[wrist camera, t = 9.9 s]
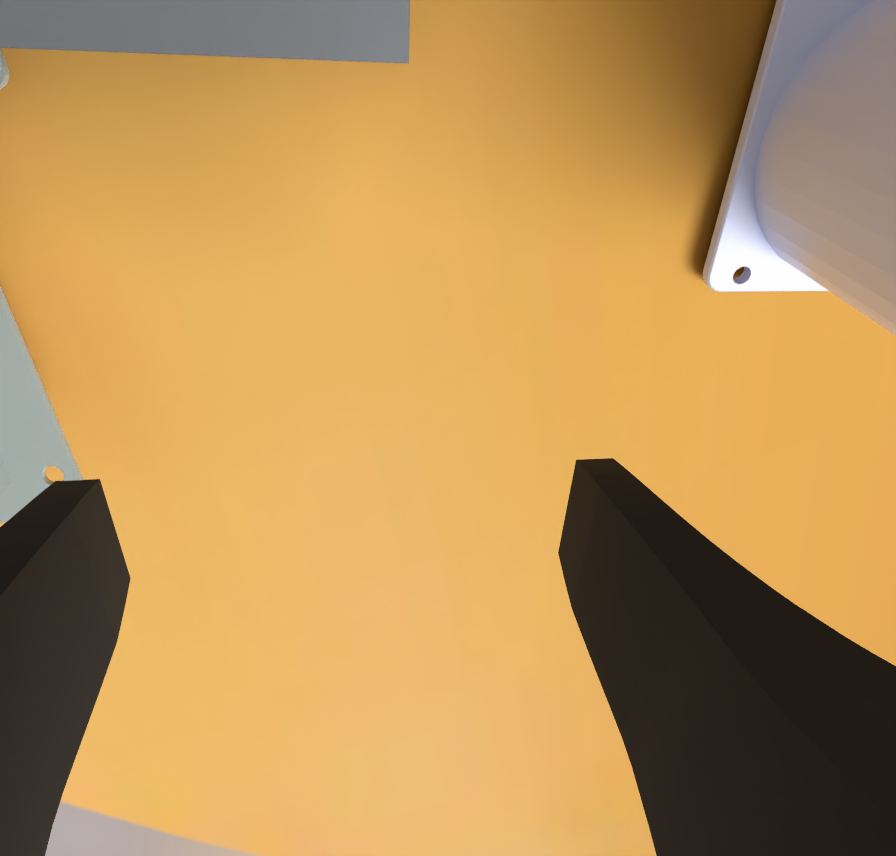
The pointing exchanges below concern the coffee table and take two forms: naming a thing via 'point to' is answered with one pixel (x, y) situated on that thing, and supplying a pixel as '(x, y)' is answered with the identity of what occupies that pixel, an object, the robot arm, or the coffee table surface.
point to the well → (214, 27)
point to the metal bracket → (25, 415)
